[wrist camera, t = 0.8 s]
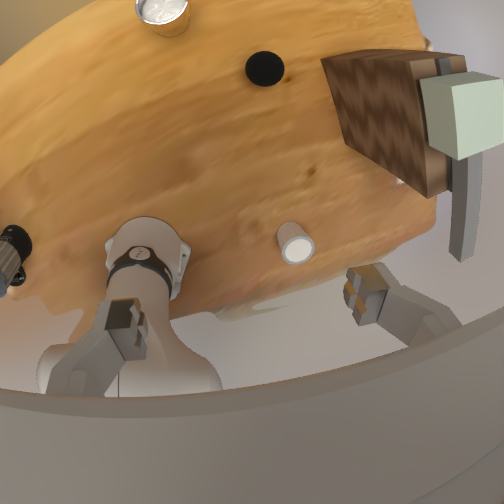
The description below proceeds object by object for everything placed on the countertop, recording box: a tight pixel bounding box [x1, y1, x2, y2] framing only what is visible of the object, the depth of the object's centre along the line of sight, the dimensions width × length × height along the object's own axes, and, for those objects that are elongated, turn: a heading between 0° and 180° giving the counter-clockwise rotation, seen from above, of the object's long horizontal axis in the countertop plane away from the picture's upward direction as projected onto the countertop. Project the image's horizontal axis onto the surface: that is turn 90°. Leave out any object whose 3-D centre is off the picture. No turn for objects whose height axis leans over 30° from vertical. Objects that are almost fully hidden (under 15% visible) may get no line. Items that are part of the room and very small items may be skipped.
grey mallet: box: [420, 72, 504, 263], centre depth 28 cm, size 26×10×5 cm, turn 21°
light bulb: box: [245, 51, 284, 87], centre depth 40 cm, size 6×6×10 cm
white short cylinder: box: [277, 222, 315, 264], centre depth 62 cm, size 7×7×7 cm
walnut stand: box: [321, 49, 467, 199], centre depth 38 cm, size 18×10×27 cm, turn 21°
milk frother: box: [0, 225, 32, 298], centre depth 48 cm, size 14×16×15 cm
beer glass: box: [135, 0, 191, 37], centre depth 30 cm, size 7×7×15 cm
